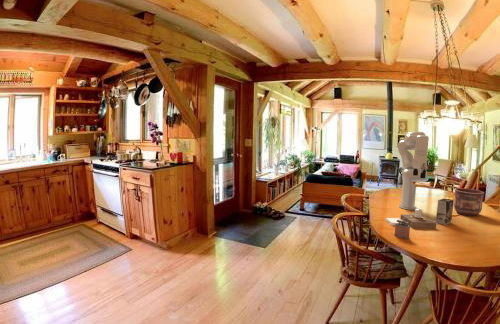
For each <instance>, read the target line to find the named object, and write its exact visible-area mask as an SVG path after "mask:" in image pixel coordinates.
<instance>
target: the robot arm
mask: <svg viewBox="0 0 500 324" xmlns="http://www.w3.org/2000/svg"><path fill="white" fill-rule="evenodd" d="M429 141H430V138H429V136H428V135H426V133H425V132H423V131H408V132H406V133H405V134H404V137H403V140H400V141H399V142H398V144H397V151H398V153H399V155H400V156H401V162H402V168H403V171H402V174H401V176H402V186H401V187H402V188H401V189H402V190H401V201H400V204H399V205H398V207H399V208H400V209H403V210H410V211H415V209H418V207H417V206H415V204H416V203H415V202H416V194H417V192H416V190H417V186H416V185H415V183H416V182H418V183H425V182H427V180H428V164H427V163H428V150H429V149H428V148H429ZM411 151H414V155H413V153H412V152H411ZM414 182H415V183H414Z"/></svg>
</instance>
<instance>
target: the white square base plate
mask: <svg viewBox="0 0 500 324" xmlns="http://www.w3.org/2000/svg"><path fill="white" fill-rule="evenodd" d="M397 220H401V219H400V218H399V217H385V222H386V223H387V224H389V225H390V226H392V227H395V223H399V222H397ZM401 221H402V220H401ZM400 224H401V223H400Z"/></svg>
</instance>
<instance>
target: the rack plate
mask: <svg viewBox="0 0 500 324" xmlns="http://www.w3.org/2000/svg"><path fill="white" fill-rule="evenodd" d="M414 216H415V214H407V213H406V214H404V213H403V214H401V213H400V218H399V219H401V220H402V221H405V222H408V226H410V228H411V229H437V225H438V223H436V220H432V219H431V218H429V217H427V216H426V215H424V214H422V216H421V219H415V218H414Z"/></svg>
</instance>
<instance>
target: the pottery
mask: <svg viewBox="0 0 500 324" xmlns="http://www.w3.org/2000/svg"><path fill="white" fill-rule="evenodd" d="M484 196H485V191H482V190H479V189H473V188H455V189H454V202H453V208H454V211H455V212H456V213H457V214H459V215H463V216H467V217H469V216H470V217H476V216H478V215H479V214H480V213H481V212H482V209H483V202H484V198H485V197H484Z"/></svg>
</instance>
